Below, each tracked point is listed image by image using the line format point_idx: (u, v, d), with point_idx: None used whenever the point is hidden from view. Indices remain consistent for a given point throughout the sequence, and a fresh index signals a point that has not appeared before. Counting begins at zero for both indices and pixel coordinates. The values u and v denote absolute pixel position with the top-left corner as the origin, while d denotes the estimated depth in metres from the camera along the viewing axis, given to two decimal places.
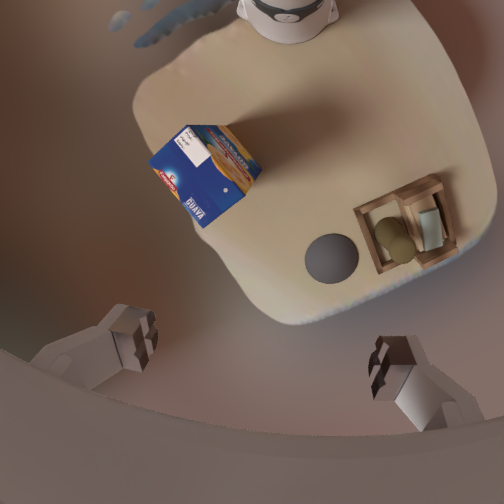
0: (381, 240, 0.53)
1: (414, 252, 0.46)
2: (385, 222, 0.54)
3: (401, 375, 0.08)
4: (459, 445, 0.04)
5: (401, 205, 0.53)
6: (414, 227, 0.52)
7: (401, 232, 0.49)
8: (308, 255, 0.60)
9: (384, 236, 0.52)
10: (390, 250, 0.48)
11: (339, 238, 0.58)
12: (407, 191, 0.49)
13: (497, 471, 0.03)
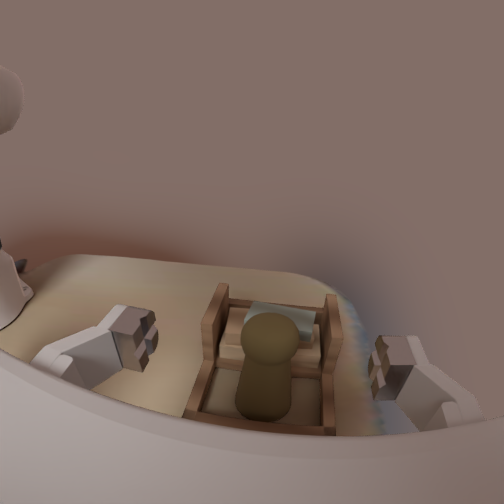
0: (256, 396, 0.26)
1: (281, 315, 0.26)
2: (237, 388, 0.29)
3: (401, 375, 0.08)
4: (459, 445, 0.04)
5: (231, 361, 0.33)
6: None
7: None
8: None
9: (246, 382, 0.26)
10: (255, 350, 0.23)
11: None
12: None
13: (497, 471, 0.03)
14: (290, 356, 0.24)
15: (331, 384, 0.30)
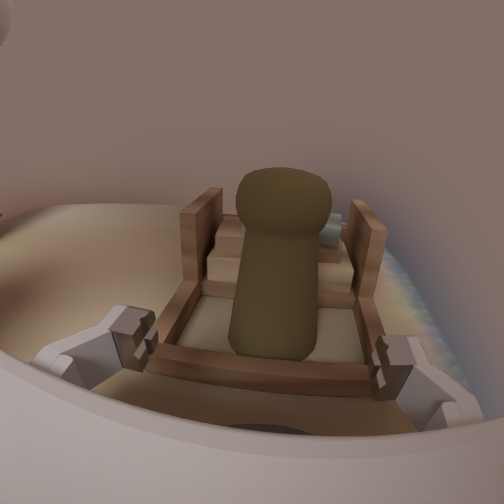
0: (262, 310, 0.16)
1: None
2: None
3: (401, 375, 0.08)
4: (459, 445, 0.04)
5: (223, 284, 0.24)
6: None
7: None
8: None
9: (246, 284, 0.17)
10: (260, 202, 0.14)
11: None
12: None
13: (496, 471, 0.03)
14: (320, 219, 0.15)
15: (374, 309, 0.20)
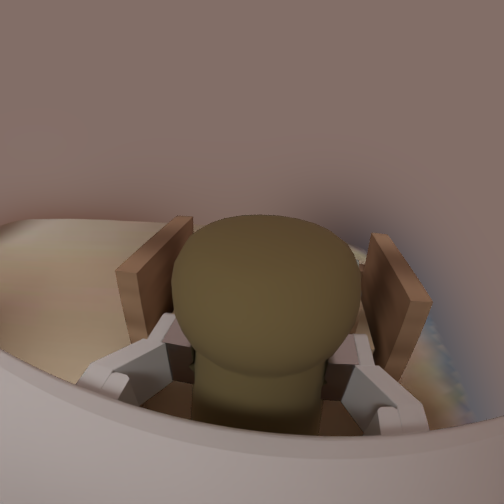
0: None
1: (299, 220, 0.09)
2: None
3: (343, 375, 0.08)
4: (459, 445, 0.04)
5: None
6: None
7: None
8: None
9: (202, 417, 0.09)
10: (207, 317, 0.06)
11: None
12: None
13: (497, 471, 0.03)
14: (338, 341, 0.07)
15: None
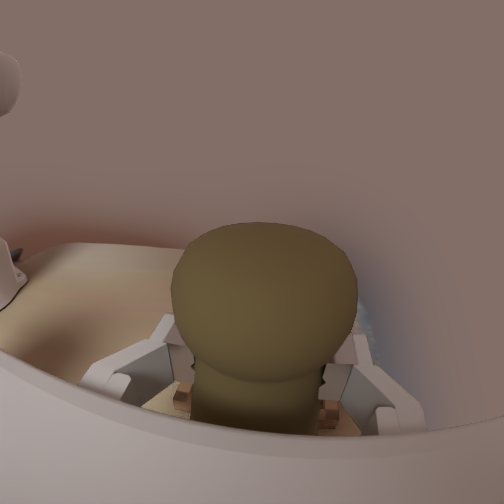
0: None
1: (296, 227, 0.09)
2: None
3: (341, 375, 0.08)
4: (459, 445, 0.04)
5: None
6: None
7: None
8: None
9: None
10: (207, 326, 0.06)
11: None
12: None
13: (497, 471, 0.03)
14: (335, 348, 0.07)
15: None
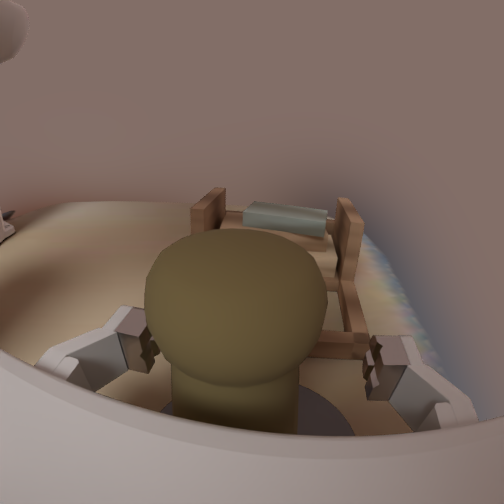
0: None
1: (268, 233, 0.09)
2: None
3: (395, 375, 0.08)
4: (459, 445, 0.04)
5: None
6: None
7: None
8: None
9: None
10: (172, 332, 0.06)
11: None
12: None
13: (497, 471, 0.03)
14: (301, 354, 0.07)
15: (354, 290, 0.25)
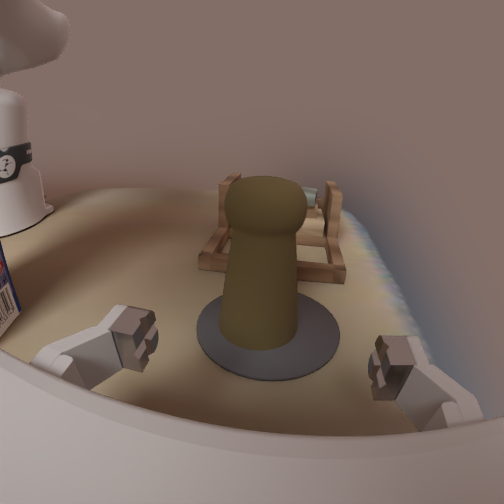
0: (247, 299, 0.19)
1: None
2: None
3: (401, 375, 0.08)
4: (459, 445, 0.04)
5: None
6: None
7: None
8: (219, 354, 0.19)
9: (233, 277, 0.19)
10: (244, 207, 0.17)
11: None
12: None
13: (497, 471, 0.03)
14: (296, 221, 0.17)
15: (336, 243, 0.35)
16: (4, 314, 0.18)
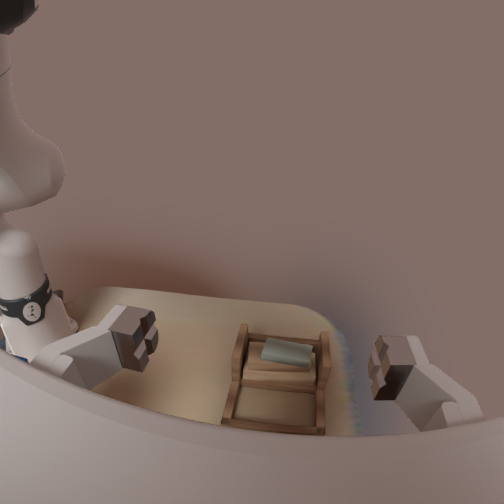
0: None
1: None
2: None
3: (401, 375, 0.08)
4: (459, 445, 0.04)
5: (251, 381, 0.45)
6: (280, 374, 0.45)
7: None
8: None
9: None
10: None
11: None
12: None
13: (497, 471, 0.03)
14: None
15: (323, 397, 0.42)
16: None
